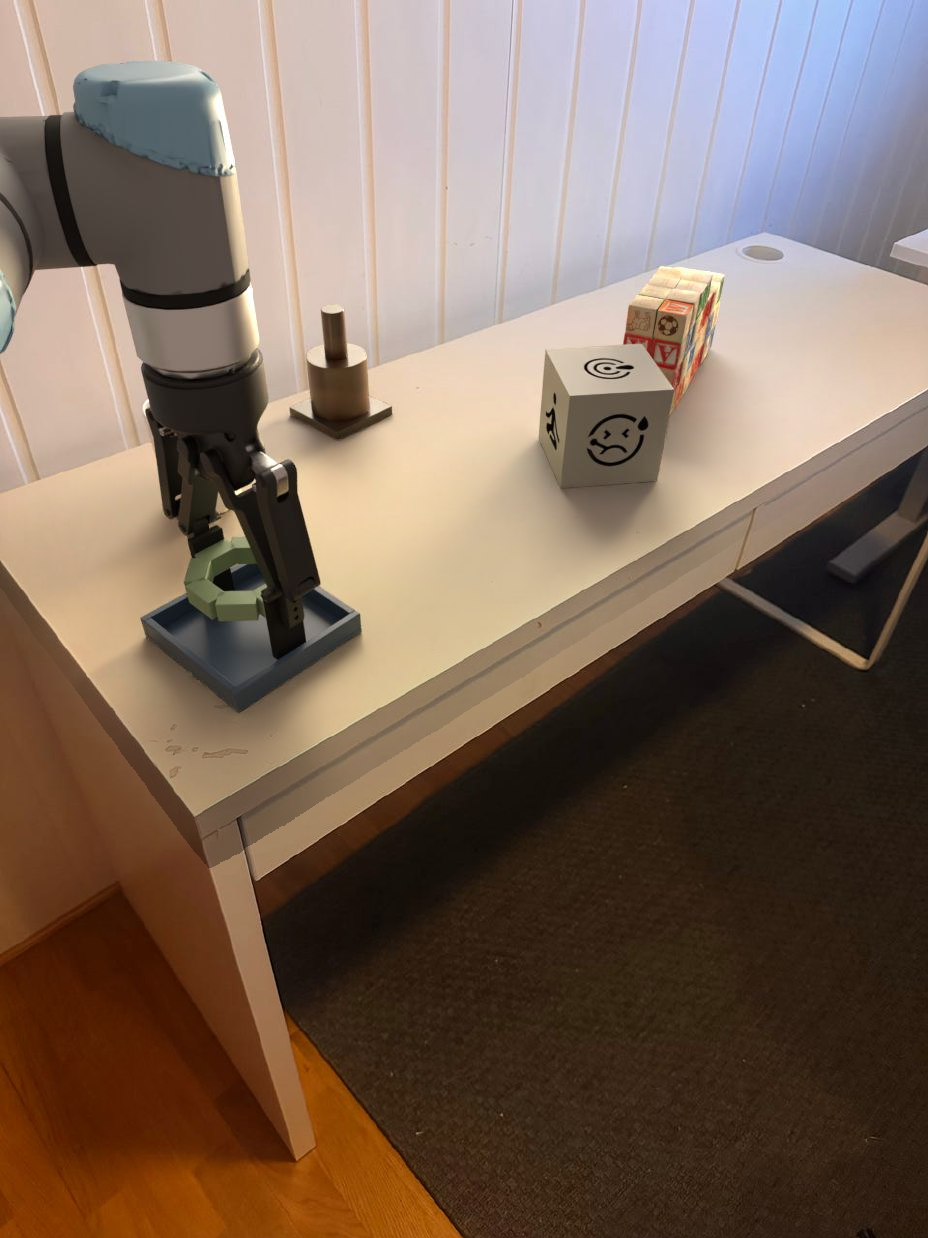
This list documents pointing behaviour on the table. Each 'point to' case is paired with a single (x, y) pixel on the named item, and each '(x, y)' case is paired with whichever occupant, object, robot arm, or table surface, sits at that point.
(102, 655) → the table surface
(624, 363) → the icon cube
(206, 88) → the robot arm
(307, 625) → the tray
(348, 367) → the peg stand
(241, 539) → the ring
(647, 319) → the stack of blocks
